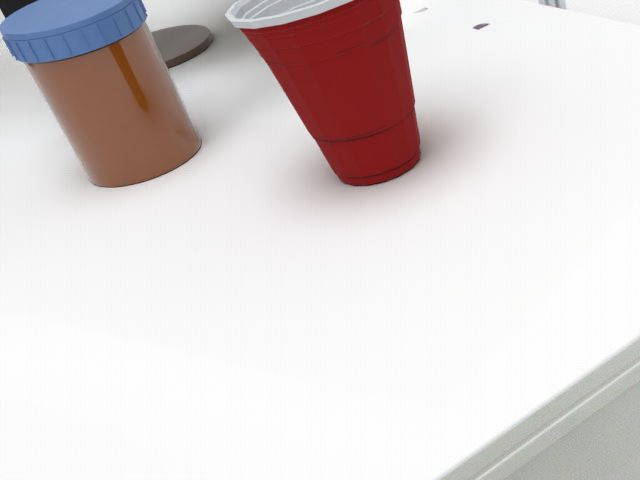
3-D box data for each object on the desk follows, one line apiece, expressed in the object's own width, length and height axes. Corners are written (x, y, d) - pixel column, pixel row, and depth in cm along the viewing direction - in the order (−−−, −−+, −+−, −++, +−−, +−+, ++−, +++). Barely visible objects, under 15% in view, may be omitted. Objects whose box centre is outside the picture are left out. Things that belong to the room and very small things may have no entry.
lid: (165, 23, 72) (151, -6, 71) (31, 74, 69) (14, 45, 68) (126, 0, 78) (113, -28, 77) (1, 46, 75) (-15, 18, 74)
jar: (67, 192, 77) (-19, 45, 70) (122, 138, 83) (48, -3, 76) (171, 181, 76) (94, 29, 69) (219, 126, 82) (154, -19, 75)
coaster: (82, 83, 95) (79, 76, 94) (135, 38, 102) (132, 32, 102) (184, 70, 93) (180, 63, 92) (230, 25, 100) (227, 18, 100)
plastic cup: (366, 122, 77) (302, -55, 69) (487, 132, 73) (434, -57, 65) (264, 197, 71) (181, 12, 63) (389, 214, 66) (316, 15, 58)
